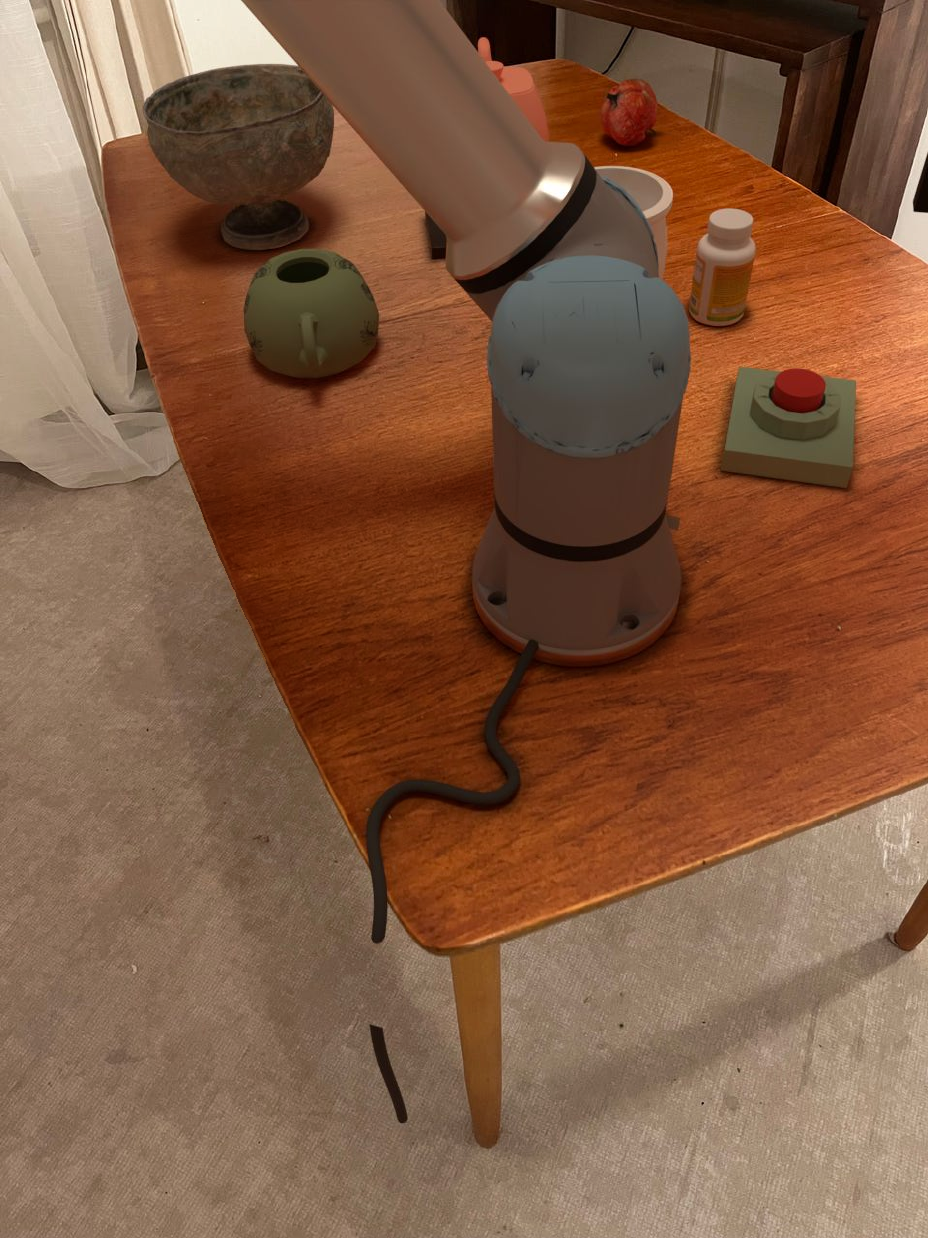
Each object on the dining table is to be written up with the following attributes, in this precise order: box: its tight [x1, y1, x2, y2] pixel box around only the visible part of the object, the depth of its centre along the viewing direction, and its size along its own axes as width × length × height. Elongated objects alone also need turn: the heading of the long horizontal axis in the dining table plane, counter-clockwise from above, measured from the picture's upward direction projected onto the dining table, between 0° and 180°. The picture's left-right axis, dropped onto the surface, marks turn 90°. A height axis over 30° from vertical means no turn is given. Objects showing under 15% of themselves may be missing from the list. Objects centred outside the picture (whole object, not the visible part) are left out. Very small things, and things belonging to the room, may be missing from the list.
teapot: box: [477, 36, 550, 142], centre depth 116 cm, size 13×20×12 cm, turn 5°
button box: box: [720, 366, 857, 489], centre depth 82 cm, size 12×10×4 cm
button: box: [772, 367, 826, 414], centre depth 81 cm, size 4×4×2 cm
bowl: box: [142, 63, 335, 251], centre depth 107 cm, size 20×19×15 cm
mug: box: [243, 248, 380, 379], centre depth 92 cm, size 16×13×9 cm
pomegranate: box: [600, 78, 658, 147], centre depth 122 cm, size 7×7×10 cm
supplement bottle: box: [688, 207, 757, 327], centre depth 93 cm, size 5×5×10 cm
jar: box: [593, 165, 674, 280], centre depth 88 cm, size 11×10×15 cm
